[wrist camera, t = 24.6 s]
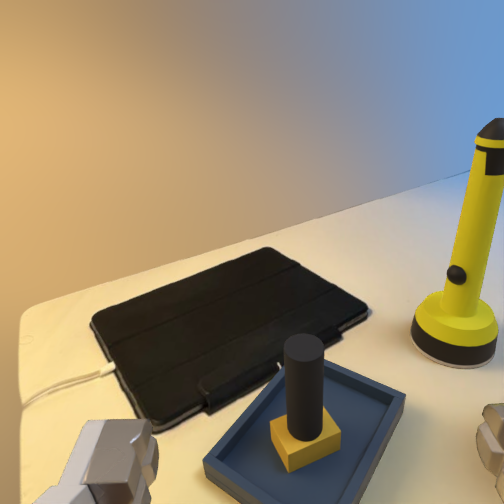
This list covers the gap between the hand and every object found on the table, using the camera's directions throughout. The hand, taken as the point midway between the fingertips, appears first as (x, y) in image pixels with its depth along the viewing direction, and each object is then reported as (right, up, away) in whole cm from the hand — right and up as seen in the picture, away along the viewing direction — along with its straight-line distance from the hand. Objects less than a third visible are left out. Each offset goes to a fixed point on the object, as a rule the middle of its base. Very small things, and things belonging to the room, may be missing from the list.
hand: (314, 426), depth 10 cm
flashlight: (+22, -6, +37) cm, 43 cm away
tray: (+4, -13, +27) cm, 30 cm away
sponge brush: (+3, -13, +26) cm, 29 cm away
